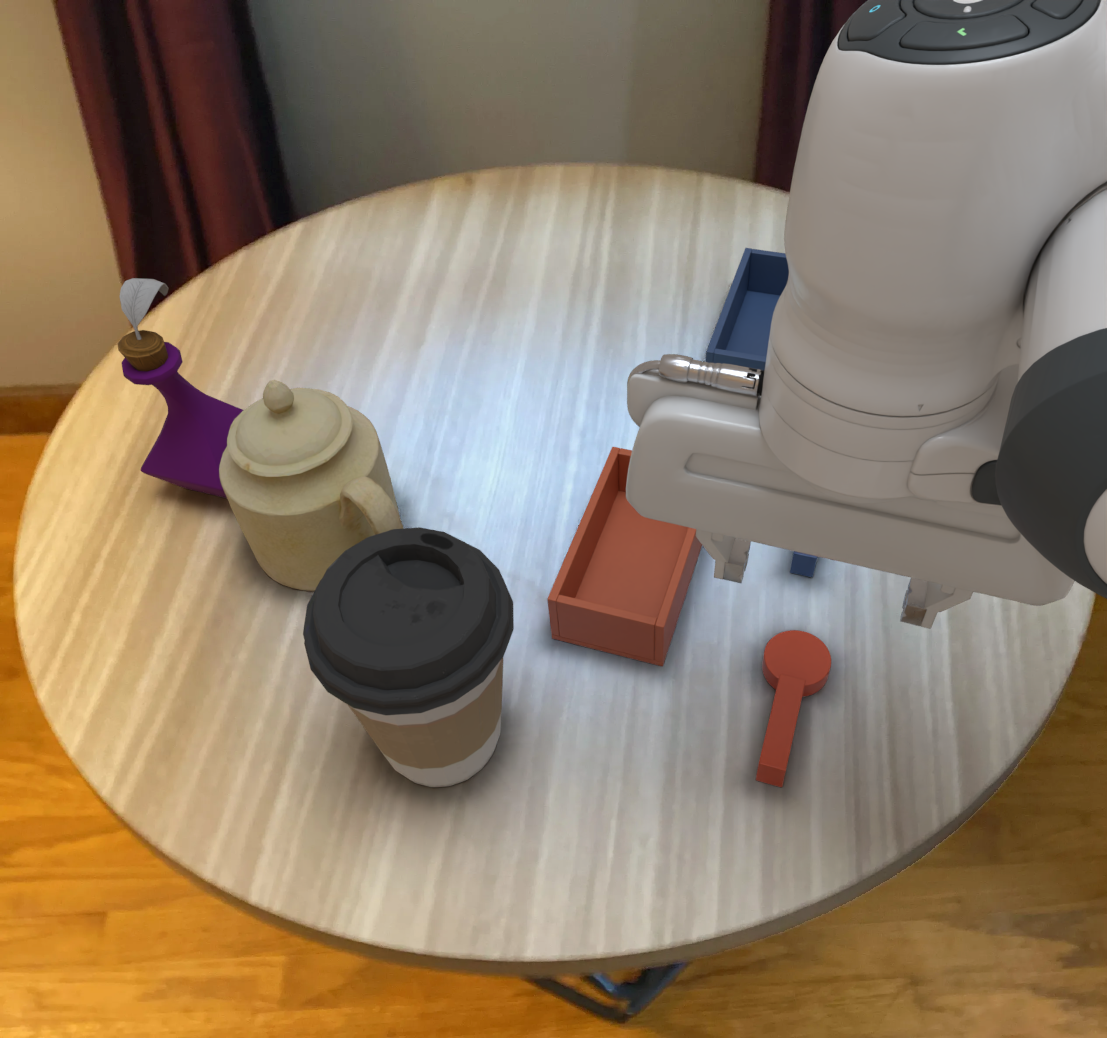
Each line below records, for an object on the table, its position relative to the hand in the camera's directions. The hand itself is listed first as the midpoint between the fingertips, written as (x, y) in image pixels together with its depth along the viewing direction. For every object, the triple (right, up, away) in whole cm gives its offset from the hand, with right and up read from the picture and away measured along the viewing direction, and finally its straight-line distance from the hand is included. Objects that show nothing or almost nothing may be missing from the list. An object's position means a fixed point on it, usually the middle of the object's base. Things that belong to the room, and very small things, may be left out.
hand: (821, 592), depth 53 cm
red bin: (-8, 0, +20) cm, 21 cm away
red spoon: (+1, -8, +12) cm, 14 cm away
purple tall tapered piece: (-40, +7, +29) cm, 50 cm away
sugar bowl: (-29, +2, +23) cm, 37 cm away
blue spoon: (+5, +4, +22) cm, 22 cm away
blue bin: (+4, +18, +34) cm, 39 cm away
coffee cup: (-21, -10, +12) cm, 26 cm away
